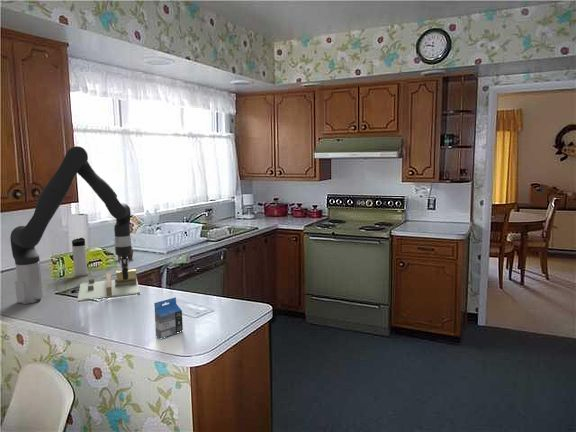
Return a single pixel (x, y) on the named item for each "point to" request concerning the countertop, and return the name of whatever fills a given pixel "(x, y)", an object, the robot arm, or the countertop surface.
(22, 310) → the countertop surface
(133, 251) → the cupcake
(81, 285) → the door board
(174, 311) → the label tape cartridge
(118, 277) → the bar
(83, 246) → the travel mug
